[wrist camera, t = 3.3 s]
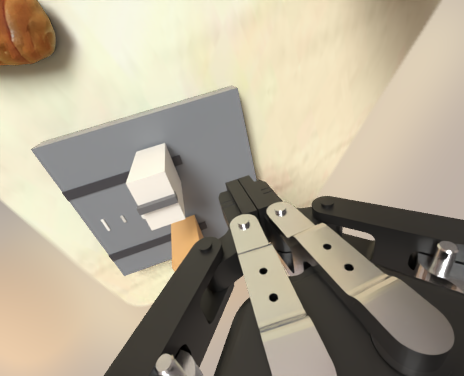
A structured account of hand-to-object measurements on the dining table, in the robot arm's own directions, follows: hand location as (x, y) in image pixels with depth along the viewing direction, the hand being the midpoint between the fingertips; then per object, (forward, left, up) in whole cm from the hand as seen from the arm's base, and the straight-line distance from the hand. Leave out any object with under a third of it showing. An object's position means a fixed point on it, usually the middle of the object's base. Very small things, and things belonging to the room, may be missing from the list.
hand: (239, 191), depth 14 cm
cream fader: (+5, 0, -8) cm, 10 cm away
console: (+5, +3, -11) cm, 12 cm away
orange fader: (+5, +8, -8) cm, 13 cm away
